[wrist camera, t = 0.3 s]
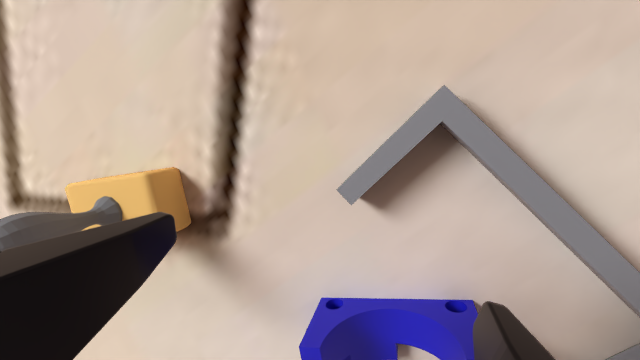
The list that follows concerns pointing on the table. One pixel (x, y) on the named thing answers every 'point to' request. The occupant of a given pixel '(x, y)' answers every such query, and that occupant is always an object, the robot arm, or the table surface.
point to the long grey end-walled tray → (517, 178)
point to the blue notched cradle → (389, 329)
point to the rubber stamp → (102, 206)
